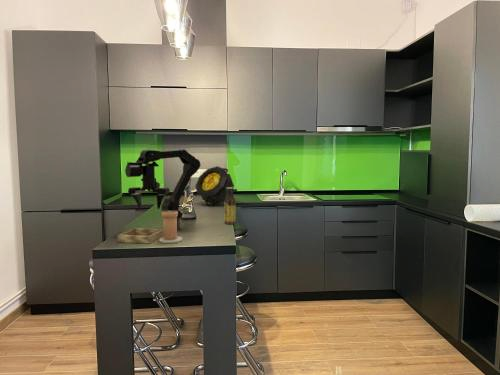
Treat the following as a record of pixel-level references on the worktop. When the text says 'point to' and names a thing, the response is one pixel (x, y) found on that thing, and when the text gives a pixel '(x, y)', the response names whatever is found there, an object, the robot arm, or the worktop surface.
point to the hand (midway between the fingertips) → (149, 208)
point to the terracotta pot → (170, 224)
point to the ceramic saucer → (170, 240)
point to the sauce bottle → (229, 207)
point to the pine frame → (133, 238)
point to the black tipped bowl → (214, 185)
